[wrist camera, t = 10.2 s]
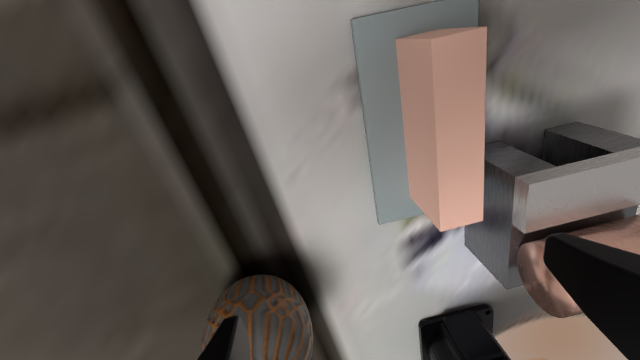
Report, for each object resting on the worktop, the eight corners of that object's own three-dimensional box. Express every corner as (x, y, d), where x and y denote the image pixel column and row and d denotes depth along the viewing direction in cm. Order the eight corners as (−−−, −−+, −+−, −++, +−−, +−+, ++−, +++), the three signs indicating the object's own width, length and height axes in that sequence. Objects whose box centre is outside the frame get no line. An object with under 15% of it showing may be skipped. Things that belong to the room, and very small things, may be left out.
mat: (471, 198, 23) (474, 201, 23) (377, 221, 23) (379, 224, 22) (474, -7, 17) (478, -8, 17) (350, 19, 17) (352, 19, 17)
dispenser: (562, 220, 25) (698, 305, 17) (464, 244, 25) (558, 343, 17) (577, 121, 22) (756, 170, 14) (465, 148, 21) (581, 214, 13)
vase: (324, 299, 25) (349, 421, 17) (252, 343, 26) (245, 479, 18) (269, 241, 22) (269, 355, 14) (191, 292, 23) (150, 427, 15)
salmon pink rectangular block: (445, 188, 22) (483, 220, 18) (409, 196, 22) (440, 231, 18) (439, 29, 18) (487, 26, 14) (395, 39, 17) (431, 39, 14)
